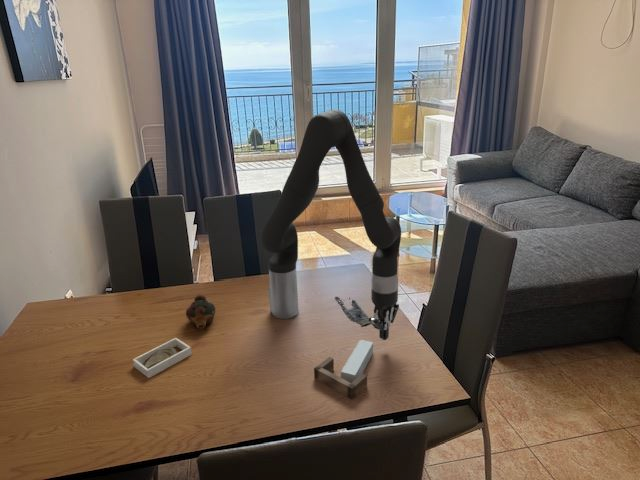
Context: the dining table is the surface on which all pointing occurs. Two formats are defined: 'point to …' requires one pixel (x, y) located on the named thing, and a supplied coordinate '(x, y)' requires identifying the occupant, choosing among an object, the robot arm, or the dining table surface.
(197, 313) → the decorative turtle
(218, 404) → the dining table surface
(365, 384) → the end cap
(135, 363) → the shell dish
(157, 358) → the oyster shell
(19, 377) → the dining table surface
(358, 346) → the white rectangular bar
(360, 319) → the grey flat forked piece
